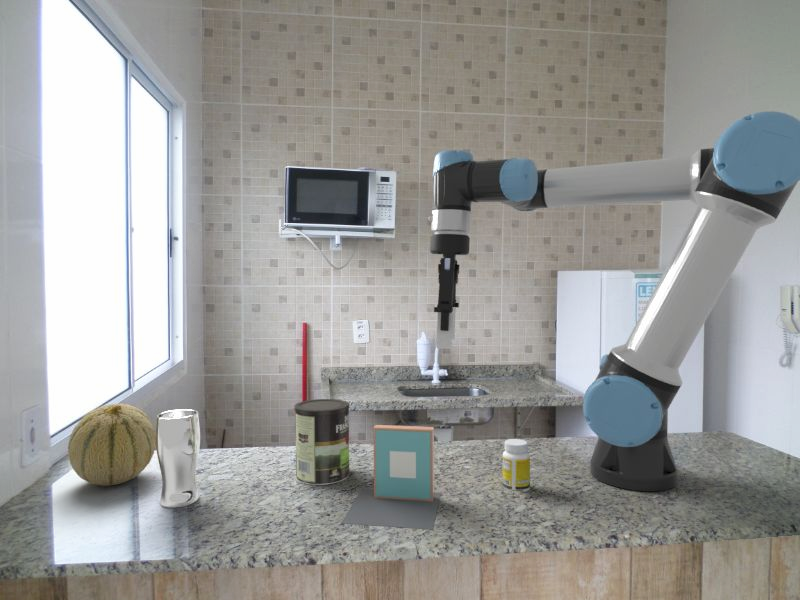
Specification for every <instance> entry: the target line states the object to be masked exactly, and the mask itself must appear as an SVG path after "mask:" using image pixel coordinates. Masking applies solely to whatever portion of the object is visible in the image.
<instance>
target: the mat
mask: <svg viewBox="0 0 800 600" xmlns="http://www.w3.org/2000/svg"><path fill="white" fill-rule="evenodd" d="M441 494H442V492H438V491H434V499H433V501H418V500H402V499H385V498H374V488H367V487H363V488H361V490H360V491H359V493H358V494H357V496H356V498H355V499H354V501H353V502H352V504H351V505H350V507H349V509H348V511H347V512H346V514H345V516H344V517H343V519H342V520H341V522H340V524H343V525H361V526H374V527H375V526H376V527H390V528H404V529H417V530H418V529H419V530H421V529H422V530H431V531H433V529H434V525H435V521H436V518H437V517H436V516H437V512H438V508H439V504H440V499H441V496H442V495H441Z"/></svg>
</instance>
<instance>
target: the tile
mask: <svg viewBox="0 0 800 600" xmlns="http://www.w3.org/2000/svg"><path fill="white" fill-rule="evenodd" d="M434 429H435V427H434V426H419V425H418V426H417V425H391V424H375V425H374V426H373V489H374V498H385V499H402V500H418V501H433V499H434V492H435V444H434V443H435V438H434V435H435V434H434V432H435V431H434Z"/></svg>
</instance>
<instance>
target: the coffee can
mask: <svg viewBox="0 0 800 600" xmlns="http://www.w3.org/2000/svg"><path fill="white" fill-rule="evenodd" d="M293 407H294V413H295V414H294V419H295V420H294V422H295V423H294V424H295V426H294V427H295V430H294V432H295V482H296V483H297V484H299V485H300V483H302V484H306V485H313V486H317V485H318V486H322V485H323V486H325V485H331V484H336V483H339V482H342V481H344V480H346V479H347V478H349V476H350V422H349V421H350V415H349V414H350V412H349V411H350V409H349V408H350V403H349V402H348V401H346V400H342V399H334V398H318V399H308V400H304V401H300V402H297V403H296V404H294V406H293Z"/></svg>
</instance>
